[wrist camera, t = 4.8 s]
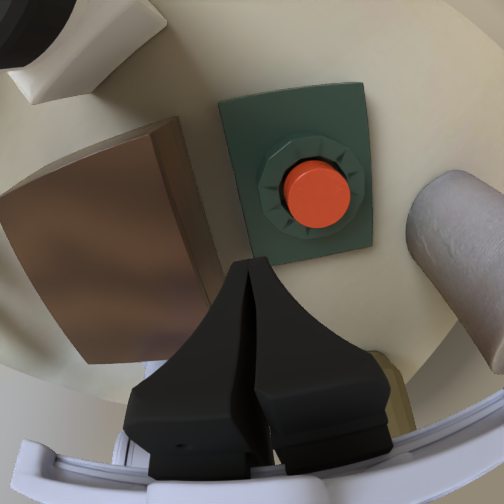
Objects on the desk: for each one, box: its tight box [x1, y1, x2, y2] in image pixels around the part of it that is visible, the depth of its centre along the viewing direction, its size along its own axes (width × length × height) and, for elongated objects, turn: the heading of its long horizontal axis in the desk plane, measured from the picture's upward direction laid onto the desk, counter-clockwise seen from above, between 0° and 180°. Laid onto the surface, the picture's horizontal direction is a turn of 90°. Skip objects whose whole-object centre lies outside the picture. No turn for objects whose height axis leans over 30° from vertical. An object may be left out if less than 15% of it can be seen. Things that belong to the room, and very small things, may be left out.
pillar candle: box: [406, 170, 504, 375], centre depth 16 cm, size 10×10×15 cm
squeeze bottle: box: [368, 351, 417, 439], centre depth 25 cm, size 8×8×18 cm
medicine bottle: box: [0, 0, 167, 105], centre depth 9 cm, size 7×7×12 cm
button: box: [283, 160, 350, 228], centre depth 17 cm, size 4×4×2 cm
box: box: [0, 116, 225, 307], centre depth 19 cm, size 13×11×6 cm
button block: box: [218, 82, 373, 266], centre depth 19 cm, size 12×9×4 cm
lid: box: [0, 132, 210, 364], centre depth 16 cm, size 14×11×1 cm
